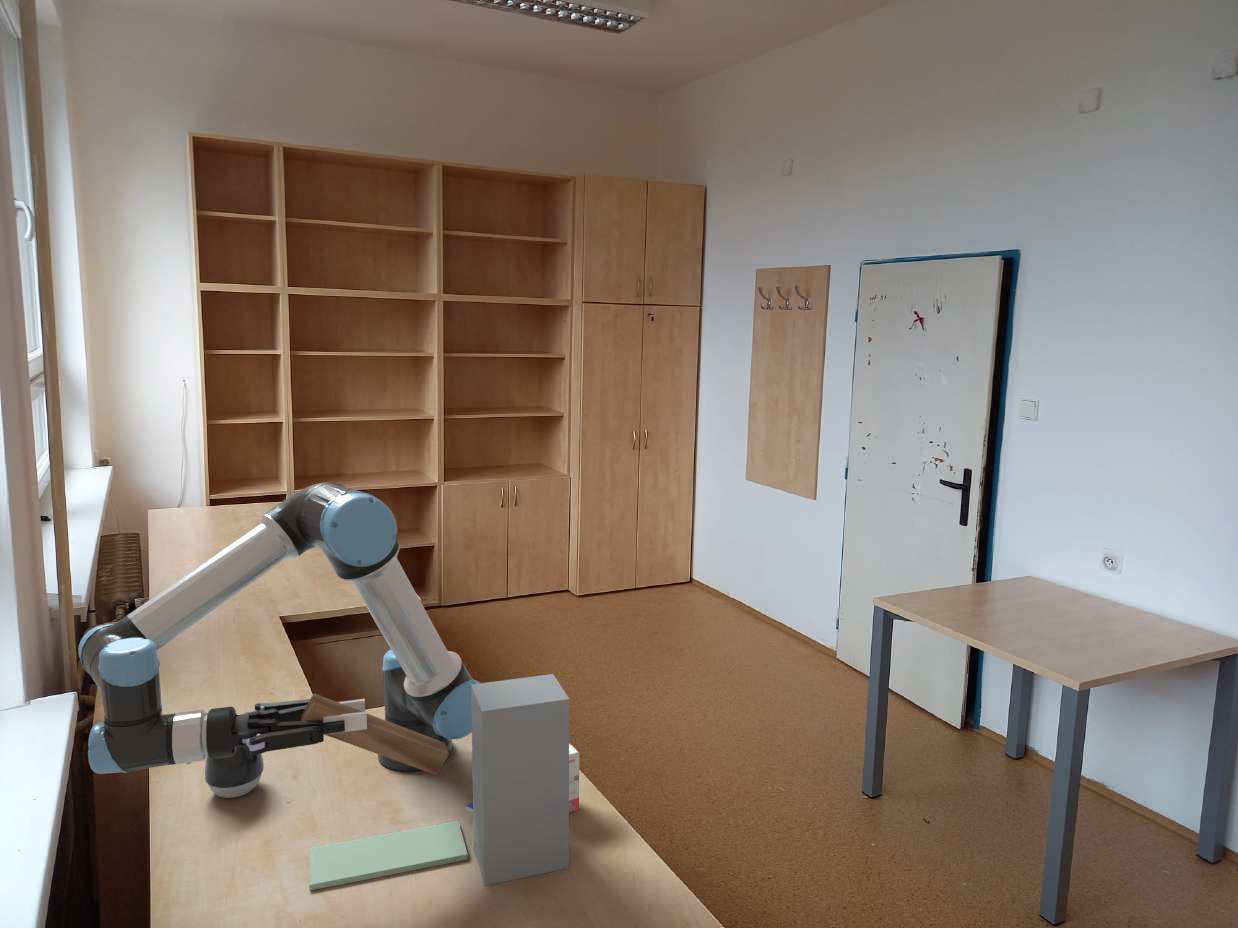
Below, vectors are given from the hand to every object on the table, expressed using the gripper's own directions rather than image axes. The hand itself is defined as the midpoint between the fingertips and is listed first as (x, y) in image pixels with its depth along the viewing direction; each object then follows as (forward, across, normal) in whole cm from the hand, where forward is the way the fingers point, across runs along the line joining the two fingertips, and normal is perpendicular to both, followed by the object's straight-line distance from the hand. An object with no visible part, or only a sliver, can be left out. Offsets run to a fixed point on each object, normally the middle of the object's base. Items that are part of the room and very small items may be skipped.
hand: (365, 713), depth 139 cm
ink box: (+33, -4, -26) cm, 42 cm away
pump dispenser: (-23, -29, -26) cm, 46 cm away
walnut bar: (+1, 0, -6) cm, 6 cm away
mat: (+3, 0, -26) cm, 26 cm away
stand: (+24, +8, -26) cm, 36 cm away
